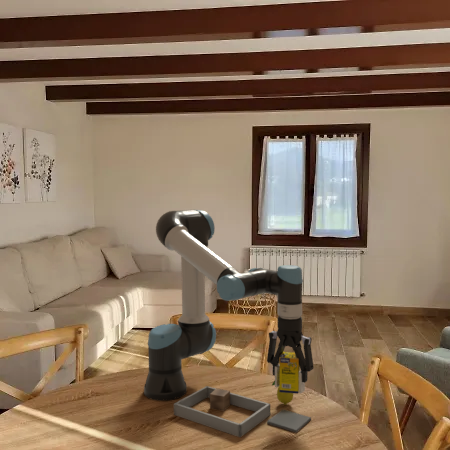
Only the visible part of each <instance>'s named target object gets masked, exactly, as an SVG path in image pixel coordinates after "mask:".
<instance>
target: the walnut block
mask: <svg viewBox="0 0 450 450" xmlns="http://www.w3.org/2000/svg"><path fill="white" fill-rule="evenodd" d="M215 388H216V387H215ZM230 393H231V391H230V390H227V389H221V388H216V389H215V390H214V391H213V392H212V393H211V394H210V398H209V409H210V410H211V409H212V410H216V411H217V410H218V411H220V412H221V411H223V412H224V411H226V409H228V408H229V407H230V406H231V404H230Z"/></svg>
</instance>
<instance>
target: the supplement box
mask: <svg viewBox="0 0 450 450" xmlns="http://www.w3.org/2000/svg"><path fill="white" fill-rule="evenodd" d="M278 365H279V392H283V393H293V394H299V372H300V371H301V369H300V366H299V359H298V358H297V357H296V355H295V352H290V351H283V353H281V355H280V358H279V363H278Z"/></svg>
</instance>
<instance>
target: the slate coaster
mask: <svg viewBox="0 0 450 450" xmlns="http://www.w3.org/2000/svg"><path fill="white" fill-rule="evenodd" d="M311 420H312V417H311V416H308V415H304V414H301V413H297V412H294V411H290V410H286V409H281V410H279V412H277V413H276V414H274V415H273V416H272V417H271V418H270V419H268V420H266V421H267V422H266V423H267V425H271V426H273V427H277V428H279V429H284V430H286V431H289V432H294V433H298V432H299V431H300V430H301V429H303V427H305V426H306V425H307V424H308V423H309V422H310V421H311Z"/></svg>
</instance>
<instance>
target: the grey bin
mask: <svg viewBox="0 0 450 450" xmlns="http://www.w3.org/2000/svg"><path fill="white" fill-rule="evenodd" d="M215 389H216V387H212V386H207V385H205V386H204V387H203V388H200V389H199V390H197V391H195V392H193V393H191V394H189V395H187V396H186V397H183V398H182V399H180V400H178V401H177V402H175V403H173V416H176V417H180V418H181V419H182V418H183V419H185V420H188V421H191V422H194V423H197V424H199V425H203V426H206V427H209V428H212V429H215V430H217V431H220V432H224V433H227V434H229V435H232V436H235V437H237V438H241V437H243V436H244V435H246V434H247V433H248V432H250V431H251V430H252V429H253V428H255V427H256V426H257V425H259V424H260V423H262V422H263V421H264V420H266V419H267V418H268V417H269V416H271V403H268V402H266V401H262V400H258V399H254V398H251V397H247V396H243V395H241V394H237V393H233V392H230V405H233V406H235V407H239V408H242V409H245V410H249V411H251V412H253V413H252V414H251V415H249V416H248V417H247V418H245V419H244V420H243V421H240V423H239V422H235V421H233V420H230V419H225V418H223V417H219V416H217V415H214V414H211V413H207V412H205V411H201V410H198V409H195V408H192V407H193V406H195V405H197V404H199V403H200V402H201V401H203V400H205V399H207V398H209V399H210V394H211V393H212V392H213V391H214V390H215Z"/></svg>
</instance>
